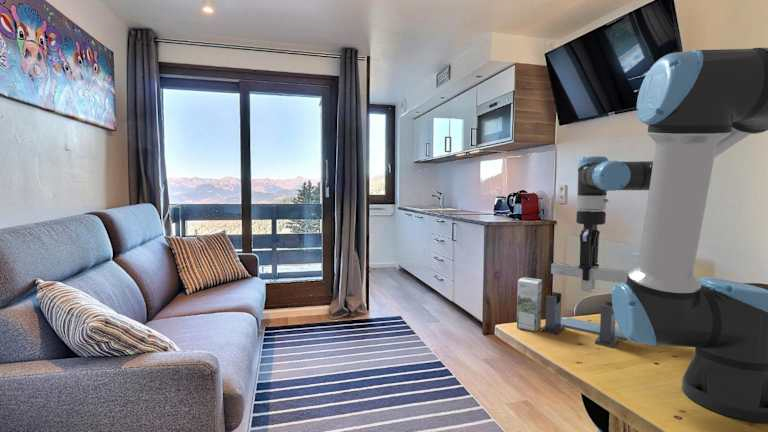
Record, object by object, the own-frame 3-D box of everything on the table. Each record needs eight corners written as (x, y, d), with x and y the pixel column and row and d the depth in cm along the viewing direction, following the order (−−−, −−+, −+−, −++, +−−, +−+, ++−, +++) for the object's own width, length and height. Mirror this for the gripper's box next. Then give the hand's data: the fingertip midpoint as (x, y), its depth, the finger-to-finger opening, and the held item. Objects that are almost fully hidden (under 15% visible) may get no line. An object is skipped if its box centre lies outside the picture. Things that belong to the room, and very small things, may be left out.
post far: (557, 334, 111) (558, 298, 110) (541, 331, 114) (542, 295, 113) (564, 328, 116) (565, 293, 115) (548, 324, 119) (550, 290, 118)
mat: (625, 339, 107) (625, 337, 107) (545, 322, 121) (545, 321, 121) (629, 331, 113) (629, 329, 113) (553, 316, 127) (553, 314, 127)
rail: (626, 283, 108) (627, 273, 108) (551, 273, 121) (551, 263, 121) (628, 281, 111) (629, 271, 111) (554, 271, 124) (554, 262, 124)
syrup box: (541, 326, 117) (542, 278, 116) (536, 332, 112) (537, 282, 111) (521, 323, 120) (522, 276, 119) (515, 328, 116) (517, 280, 115)
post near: (613, 347, 102) (615, 308, 101) (595, 343, 105) (596, 305, 104) (618, 339, 107) (620, 302, 106) (600, 335, 110) (602, 299, 109)
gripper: (599, 212, 106) (595, 298, 108) (611, 209, 118) (607, 286, 120) (569, 211, 111) (566, 293, 112) (584, 208, 123) (581, 282, 125)
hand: (587, 289), depth 116 cm, fingers closed on rail, 3 cm apart
